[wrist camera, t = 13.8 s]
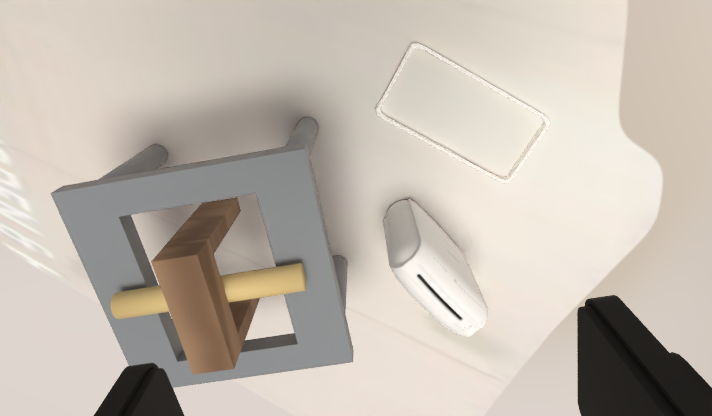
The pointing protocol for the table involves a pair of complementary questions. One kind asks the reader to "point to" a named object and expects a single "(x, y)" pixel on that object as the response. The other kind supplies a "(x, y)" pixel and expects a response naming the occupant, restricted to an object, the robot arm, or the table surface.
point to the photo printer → (433, 269)
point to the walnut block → (203, 290)
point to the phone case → (498, 178)
